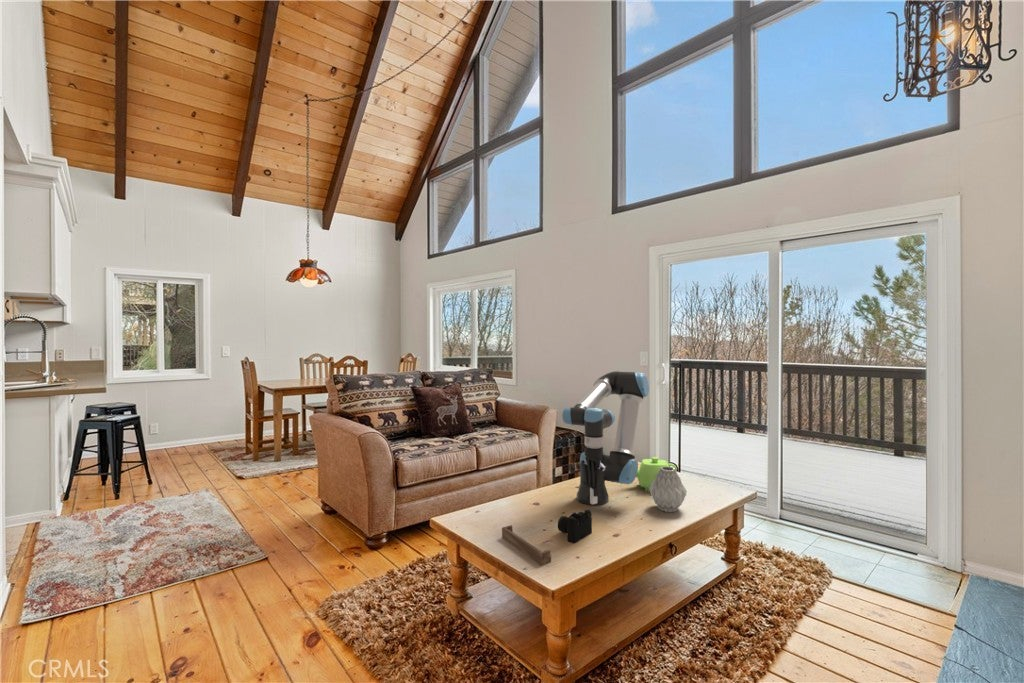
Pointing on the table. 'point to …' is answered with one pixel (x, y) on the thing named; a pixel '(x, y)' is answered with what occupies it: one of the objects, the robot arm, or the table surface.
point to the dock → (526, 546)
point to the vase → (667, 490)
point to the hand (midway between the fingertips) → (593, 503)
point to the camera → (576, 525)
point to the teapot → (650, 471)
